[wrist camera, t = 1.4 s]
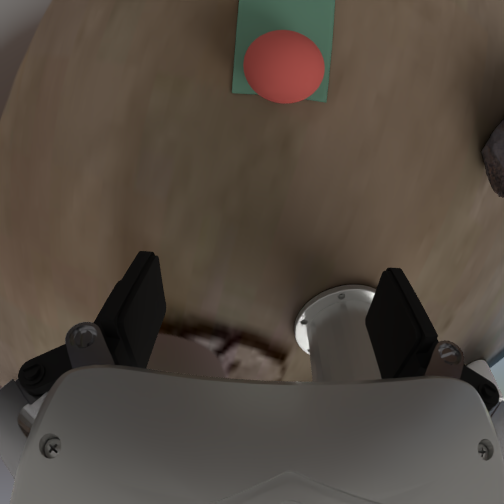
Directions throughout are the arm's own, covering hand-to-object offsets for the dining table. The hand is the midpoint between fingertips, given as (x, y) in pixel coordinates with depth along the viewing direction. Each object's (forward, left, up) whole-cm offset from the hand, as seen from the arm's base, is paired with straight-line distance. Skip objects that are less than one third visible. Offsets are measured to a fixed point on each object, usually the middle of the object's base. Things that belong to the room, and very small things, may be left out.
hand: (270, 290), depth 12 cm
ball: (+1, -9, -14) cm, 17 cm away
